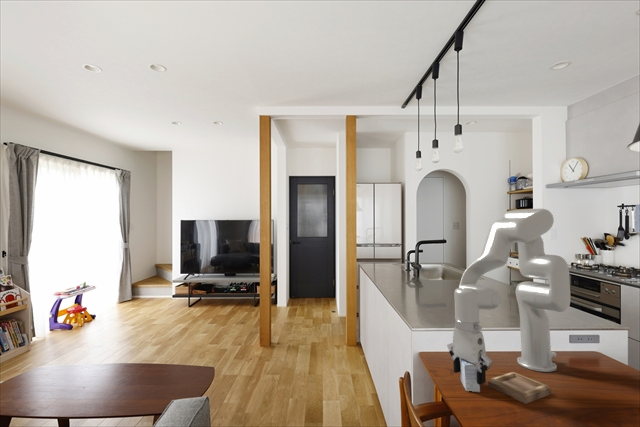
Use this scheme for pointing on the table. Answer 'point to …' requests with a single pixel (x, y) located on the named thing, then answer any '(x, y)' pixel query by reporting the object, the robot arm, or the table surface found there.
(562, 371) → the table surface
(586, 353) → the table surface
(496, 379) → the square wooden tray
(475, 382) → the medicine box
